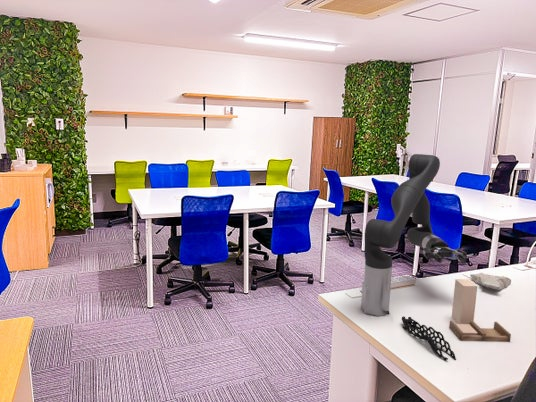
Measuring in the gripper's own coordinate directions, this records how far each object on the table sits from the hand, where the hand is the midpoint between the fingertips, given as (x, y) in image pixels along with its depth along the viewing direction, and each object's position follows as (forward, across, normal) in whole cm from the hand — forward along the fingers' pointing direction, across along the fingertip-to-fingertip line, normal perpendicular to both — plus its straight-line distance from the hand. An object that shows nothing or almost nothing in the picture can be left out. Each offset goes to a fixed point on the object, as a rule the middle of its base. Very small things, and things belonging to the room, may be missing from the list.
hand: (452, 260), depth 142 cm
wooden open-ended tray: (+20, +1, +18) cm, 27 cm away
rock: (-25, +27, +20) cm, 42 cm away
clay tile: (+20, -3, +17) cm, 26 cm away
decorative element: (+24, -17, +19) cm, 35 cm away
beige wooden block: (+12, 0, +19) cm, 22 cm away
